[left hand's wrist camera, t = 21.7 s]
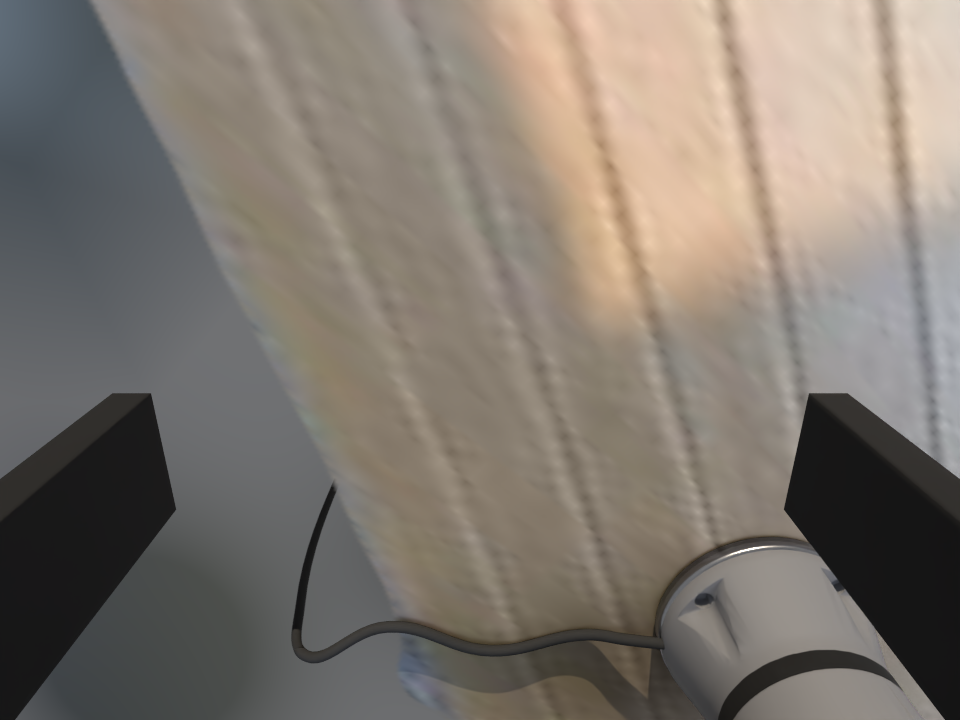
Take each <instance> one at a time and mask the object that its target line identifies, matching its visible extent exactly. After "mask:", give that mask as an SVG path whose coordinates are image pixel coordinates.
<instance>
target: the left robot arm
mask: <svg viewBox="0 0 960 720" xmlns="http://www.w3.org/2000/svg"><path fill="white" fill-rule="evenodd" d="M336 492H337V488H336V486H335V484H334V481H333V483H332V485H331V488H330V490H329V492H328V495H327V497H326V499H325V502H324V504H323V507H322V509H321V512H320V514H319V517H318V519H317V522H316V525H315V528H314V530H313V533H312V536H311V539H310V542H309V545H308V549H307V552H306V556H305V559H304V563H303V567H302V572H301V576H300V581H299V586H298V592H297V599H296V605H295V612H294V618H293V625H292V632H291V642H292V647H293V650H294V652H295V654H296V656H297V657H298V658H299V659H301V660H303V661H305V662H308V663H320V662H324V661H326V660H328V659H330V658H332V657H334V656H336V655H338V654H339V653H341V652H342V651H344V650H345V649H347V648H349V647H350V646H352V645H354V644H355V643H357V642H359V641H361V640H363V639H365V638H367V637H370V636H373V635H376V634H380V633H391V632H392V633H406V634H411V635H416V636H419V637H423V638H426V639H429V640H431V641H434V642H437V643H439V644H442V645H444V646H447V647H449V648H452V649H455V650H458V651H461V652H465V653H469V654H474V655H480V656H510V655H517V654H522V653H526V652H530V651H534V650H538V649H542V648H545V647H549V646H553V645H557V644H561V643H566V642H573V641H585V640H594V641H603V642H609V643H614V644H620V645H627V646H635V647H643V648H652V649H660V652H661V655H662V657H663V660H664V663H665V665H666V666H667V668H668V670H669V672H670V674H671V675H672V677H673V679H674V680H675V682H676V683H677V684H678V685H679V687H680V688H681V689H682V690H683V692H684V693H685V694H686V696H687V697H688V698H689V699H690V701H691V702H692V703H693V704H694V706H695V707H696V708H697V709H698V711H699V712H700V713H701V714H702V716H703V717H704V718H705V719H706V720H924V719H923V717H922V716H921V715H920V713H919V712H918V711H917V709H916V708H915V707H914V705H913V704H912V702H911V701H910V700H909V698H908V697H907V696H906V694H905V693H904V692H903V690H902V689H901V688H900V686H899V685H898V683H897V682H896V681H895V679H894V678H893V677H892V675H891V674H890V673H889V671H888V670H887V667H886V664H885V660H884V657H883V654H882V651H881V647H880V644H879V641H878V638H877V635H876V631H875V629H876V630H877V632H878V633H879V634H880V636H881V637H882V638H883V639H884V641H885V642H886V643H887V645H888V646H889V647H890V649H891V650H892V651H893V652H894V654H895V655H896V656H897V658H898V659H899V660H900V662H901V663H902V664H903V666H904V667H905V668H906V669H907V671H908V672H909V673H910V675H911V676H912V677H913V679H914V680H915V681H916V683H917V684H918V685H919V686H920V688H921V689H922V690H923V692H924V693H925V694H926V696H927V697H928V698H929V699H930V701H931V702H932V703H933V705H934V706H935V707H936V709H937V710H938V711H939V713H940V714H941V715H942V716H943V718H944V719H945V720H960V479H959V478H958V477H956V476H955V475H954V474H952V473H951V472H950V471H948V470H947V469H946V468H944V467H943V466H942V465H941V464H939V463H938V462H937V461H935V460H934V459H933V458H931V457H930V456H929V455H927V454H926V453H925V452H924V451H922V450H921V449H920V448H918V447H917V446H916V445H914V444H913V443H912V442H910V441H909V440H908V439H906V438H905V437H904V436H903V435H901V434H900V433H899V432H897V431H896V430H895V429H893V428H892V427H891V426H889V425H888V424H887V423H886V422H884V421H883V420H882V419H880V418H879V417H878V416H876V415H875V414H874V413H872V412H871V411H870V410H869V409H867V408H866V407H865V406H863V405H862V404H861V403H859V402H858V401H857V400H855V399H854V398H853V397H851V396H850V395H849V394H848V393H809V396H808V401H807V405H806V410H805V415H804V419H803V424H802V429H801V433H800V438H799V442H798V447H797V452H796V456H795V461H794V465H793V470H792V475H791V479H790V484H789V488H788V493H787V498H786V502H785V507H784V510H785V512H786V513H787V514H788V515H789V517H790V518H791V519H792V521H793V522H794V523H795V525H796V526H797V527H798V528H799V530H800V531H801V532H802V534H803V535H804V536H805V538H806V539H807V540H808V542H809V543H807V542H804V541H800V540H796V539H790V538H782V537H761V538H752V539H746V540H742V541H737V542H734V543H731V544H727V545H725V546H722V547H720V548H717V549H715V550H713V551H711V552H709V553H707V554H705V555H703V556H702V557H700V558H698V559H697V560H695V561H694V562H693V563H691V564H690V565H689V566H687V567H686V568H685V569H684V570H683V571H682V572H681V573H680V574H679V575H678V576H677V577H676V578H675V579H674V580H673V581H672V583H671V584H670V585H669V587H668V588H667V590H666V591H665V593H664V595H663V597H662V599H661V601H660V603H659V606H658V609H657V613H656V619H655V633H656V637H650V636H640V635H632V634H624V633H617V632H612V631H606V630H599V629H577V630H569V631H563V632H558V633H554V634H550V635H546V636H542V637H539V638H535V639H532V640H528V641H524V642H519V643H513V644H506V645H483V644H476V643H471V642H467V641H464V640H461V639H457V638H455V637H452V636H449V635H447V634H444V633H442V632H439V631H437V630H434V629H431V628H429V627H426V626H422V625H419V624H414V623H410V622H401V621H386V622H378V623H375V624H371V625H368V626H366V627H363V628H361V629H359V630H357V631H355V632H353V633H352V634H350V635H348V636H347V637H345V638H343V639H342V640H340V641H339V642H337V643H335V644H334V645H332V646H330V647H328V648H326V649H324V650H322V651H318V652H311V651H308V650H307V649H306V648H305V647H304V646H303V644H302V636H301V635H302V624H303V618H304V611H305V603H306V595H307V588H308V582H309V577H310V572H311V567H312V563H313V559H314V555H315V551H316V547H317V544H318V541H319V538H320V534H321V531H322V528H323V525H324V523H325V520H326V517H327V514H328V512H329V509H330V507H331V504H332V501H333V499H334V496H335V494H336ZM175 510H176V507H175V503H174V498H173V493H172V488H171V484H170V479H169V475H168V470H167V465H166V461H165V456H164V452H163V447H162V442H161V438H160V433H159V429H158V424H157V419H156V415H155V410H154V405H153V401H152V396H151V394H150V393H113V394H111V395H110V396H109V397H107V398H106V399H105V400H103V401H102V402H101V403H99V404H98V405H97V406H95V407H94V408H93V409H91V410H90V411H89V412H88V413H86V414H85V415H84V416H82V417H81V418H80V419H79V420H77V421H76V422H74V423H73V424H72V425H71V426H69V427H68V428H67V429H65V430H64V431H63V432H61V433H60V434H59V435H57V436H56V437H55V438H54V439H52V440H51V441H50V442H48V443H47V444H46V445H44V446H43V447H42V448H40V449H39V450H38V451H36V452H35V453H34V454H33V455H31V456H30V457H29V458H27V459H26V460H25V461H23V462H22V463H21V464H20V465H18V466H17V467H16V468H14V469H13V470H12V471H10V472H9V473H8V474H6V475H5V476H4V477H2V478H1V479H0V720H15V719H16V718H17V716H18V715H19V714H20V712H21V711H22V710H23V709H24V707H25V706H26V705H27V703H28V702H29V701H30V699H31V698H32V697H33V696H34V694H35V693H36V692H37V690H38V689H39V688H40V686H41V685H42V684H43V683H44V681H45V680H46V679H47V677H48V676H49V675H50V673H51V672H52V671H53V669H54V668H55V667H56V666H57V664H58V663H59V662H60V660H61V659H62V658H63V656H64V655H65V654H66V652H67V651H68V650H69V649H70V647H71V646H72V645H73V643H74V642H75V641H76V639H77V638H78V637H79V635H80V634H81V633H82V632H83V630H84V629H85V628H86V626H87V625H88V624H89V622H90V621H91V620H92V619H93V617H94V616H95V615H96V613H97V612H98V611H99V609H100V608H101V607H102V605H103V604H104V603H105V602H106V600H107V599H108V598H109V596H110V595H111V594H112V592H113V591H114V590H115V588H116V587H117V586H118V585H119V583H120V582H121V581H122V579H123V578H124V577H125V575H126V574H127V573H128V572H129V570H130V569H131V568H132V566H133V565H134V564H135V562H136V561H137V560H138V558H139V557H140V556H141V555H142V553H143V552H144V551H145V549H146V548H147V547H148V545H149V544H150V543H151V542H152V540H153V539H154V538H155V536H156V535H157V534H158V532H159V531H160V530H161V528H162V527H163V526H164V525H165V523H166V522H167V521H168V519H169V518H170V517H171V515H172V514H173V513H174V512H175Z"/></svg>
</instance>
